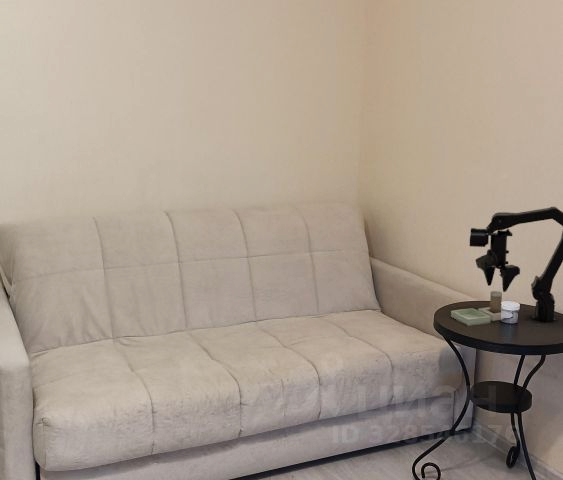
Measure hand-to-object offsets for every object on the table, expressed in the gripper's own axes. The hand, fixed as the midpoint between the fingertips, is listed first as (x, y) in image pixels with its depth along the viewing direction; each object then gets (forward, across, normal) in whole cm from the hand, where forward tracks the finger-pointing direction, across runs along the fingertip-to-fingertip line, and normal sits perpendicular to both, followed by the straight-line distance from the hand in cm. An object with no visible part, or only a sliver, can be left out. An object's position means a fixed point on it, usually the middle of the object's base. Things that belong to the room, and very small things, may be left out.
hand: (496, 288), depth 253 cm
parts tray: (+10, +1, -12) cm, 16 cm away
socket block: (+10, 0, 0) cm, 11 cm away
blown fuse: (+11, 0, 0) cm, 11 cm away
